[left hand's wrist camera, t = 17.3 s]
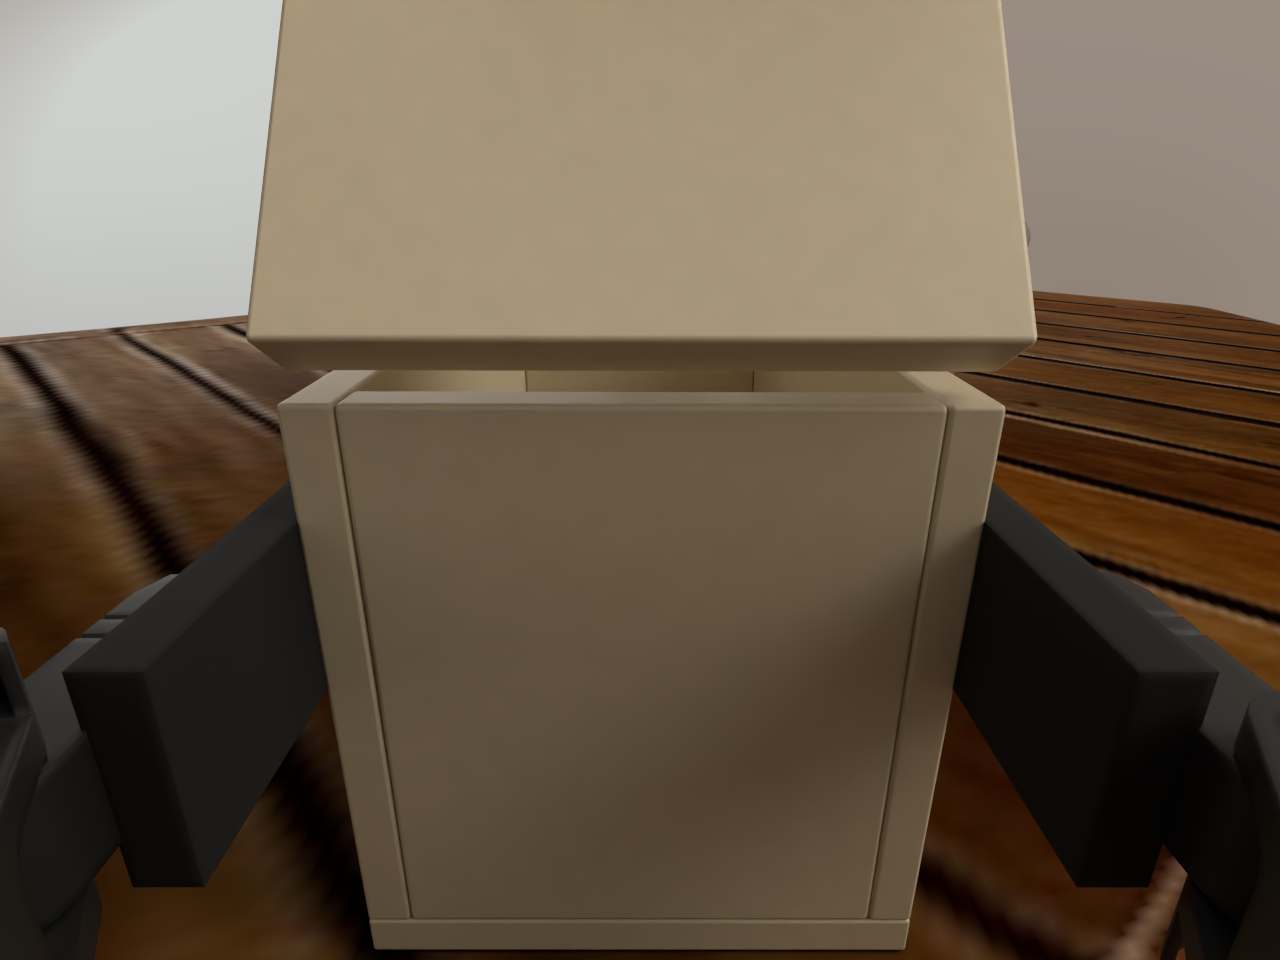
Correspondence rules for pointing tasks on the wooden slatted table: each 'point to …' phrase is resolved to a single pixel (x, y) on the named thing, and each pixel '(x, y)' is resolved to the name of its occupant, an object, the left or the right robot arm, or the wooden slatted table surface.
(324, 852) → the wooden slatted table surface
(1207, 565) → the wooden slatted table surface
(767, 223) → the lid
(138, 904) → the wooden slatted table surface
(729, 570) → the chest
